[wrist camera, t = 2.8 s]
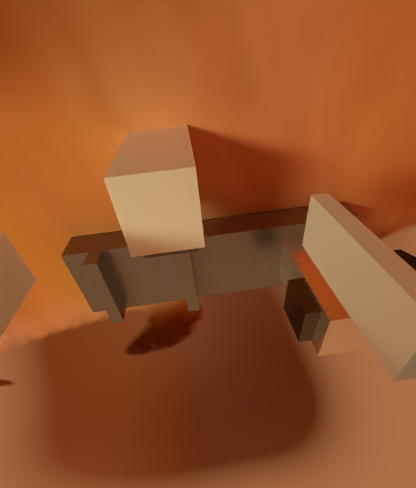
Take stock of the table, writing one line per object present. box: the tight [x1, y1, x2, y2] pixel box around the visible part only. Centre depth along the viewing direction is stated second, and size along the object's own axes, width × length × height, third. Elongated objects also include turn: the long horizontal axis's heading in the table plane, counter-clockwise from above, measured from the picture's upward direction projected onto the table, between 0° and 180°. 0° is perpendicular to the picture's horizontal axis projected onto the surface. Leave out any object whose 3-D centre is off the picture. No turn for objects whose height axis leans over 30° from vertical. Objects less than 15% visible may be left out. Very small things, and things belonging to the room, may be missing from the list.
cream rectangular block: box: [104, 125, 205, 258], centre depth 16 cm, size 6×4×8 cm
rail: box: [61, 202, 371, 356], centre depth 20 cm, size 24×7×10 cm, turn 95°
